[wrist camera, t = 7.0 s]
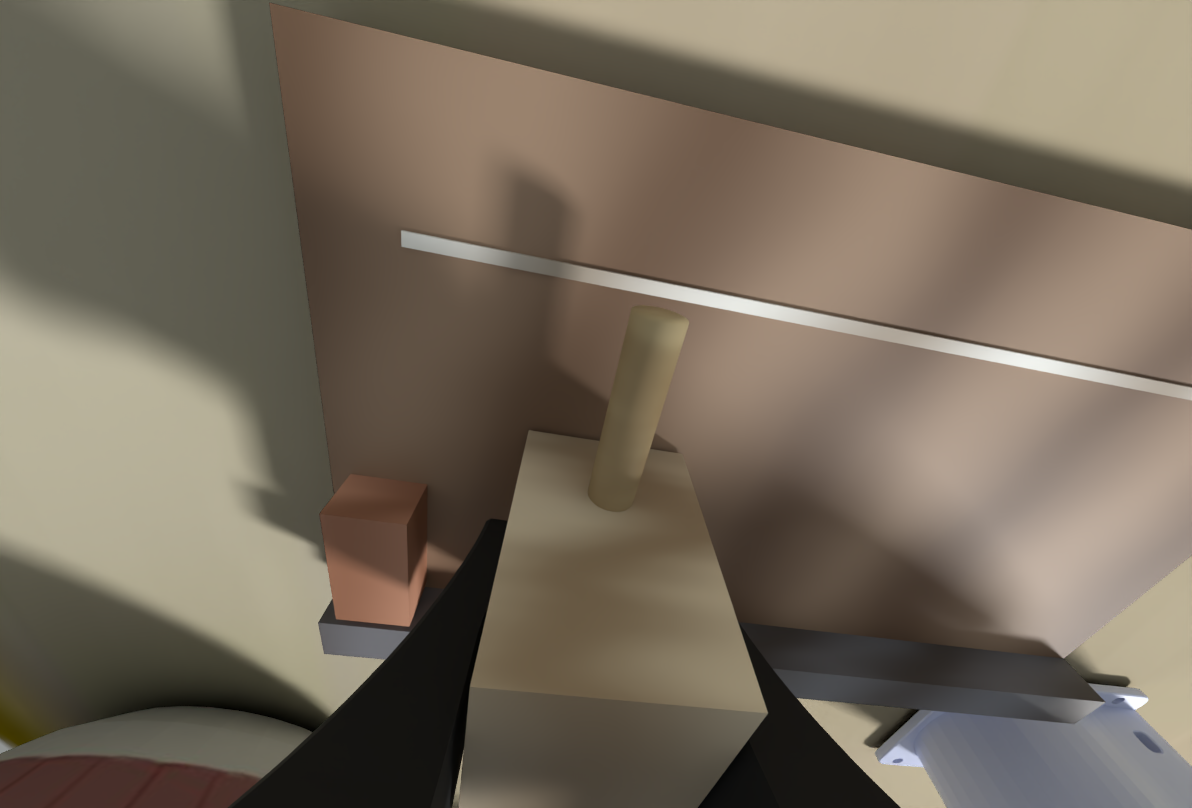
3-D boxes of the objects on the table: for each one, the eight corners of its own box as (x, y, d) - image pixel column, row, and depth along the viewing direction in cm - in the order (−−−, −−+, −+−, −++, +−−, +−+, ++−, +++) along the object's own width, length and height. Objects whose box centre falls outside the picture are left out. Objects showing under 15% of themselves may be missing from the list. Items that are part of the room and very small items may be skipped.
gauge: (736, 304, 9) (935, 487, 4) (629, 601, 14) (654, 865, 9) (551, 268, 9) (494, 418, 3) (506, 587, 13) (453, 856, 8)
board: (1390, 289, 11) (1645, 327, 8) (992, 653, 18) (1060, 734, 16) (321, 30, 8) (191, -38, 5) (370, 584, 16) (326, 667, 13)
